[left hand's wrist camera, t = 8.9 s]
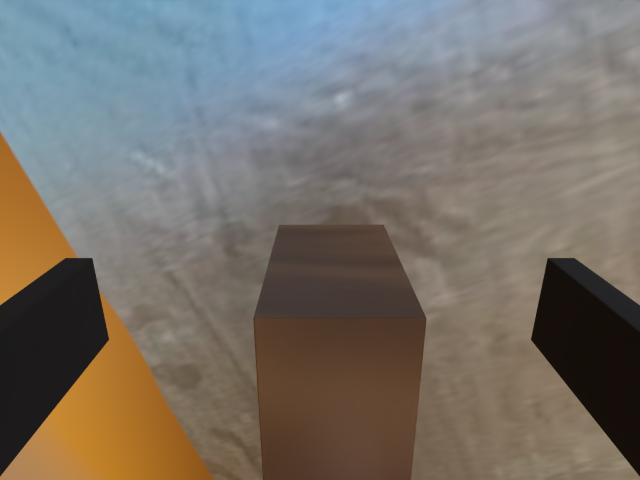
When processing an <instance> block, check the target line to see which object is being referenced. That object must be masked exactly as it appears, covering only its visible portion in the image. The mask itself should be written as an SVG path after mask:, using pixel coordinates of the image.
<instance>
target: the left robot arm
mask: <svg viewBox="0 0 640 480" xmlns="http://www.w3.org/2000/svg"><path fill="white" fill-rule="evenodd" d="M108 340H109V337H108V332H107V328H106V323H105V318H104V313H103V308H102V303H101V299H100V294H99V289H98V284H97V279H96V274H95V269H94V264H93V260H92V258H65V259H64V260H62V261H61V262H60V263H58V264H57V265H56V266H54V267H53V268H51V269H50V270H49V271H47V272H46V273H44V274H43V275H42V276H40V277H39V278H38V279H36V280H35V281H33V282H32V283H31V284H29V285H28V286H27V287H25V288H24V289H22V290H21V291H20V292H18V293H17V294H15V295H14V296H13V297H11V298H10V299H8V300H7V301H6V302H4V303H3V304H2V305H0V476H1V475H2V473H3V472H4V471H5V470H6V468H7V467H8V466H9V465H10V463H11V462H12V461H13V460H14V458H15V457H16V456H17V455H18V453H19V452H20V451H21V450H22V448H23V447H24V446H25V444H26V443H27V442H28V441H29V439H30V438H31V437H32V436H33V434H34V433H35V432H36V431H37V429H38V428H39V427H40V426H41V424H42V423H43V422H44V421H45V419H46V418H47V417H48V415H49V414H50V413H51V412H52V411H53V409H54V408H55V407H56V405H57V404H58V403H59V402H60V401H61V399H62V398H63V397H64V395H65V394H66V393H67V392H68V390H69V389H70V388H71V387H72V385H73V384H74V383H75V382H76V380H77V379H78V378H79V377H80V375H81V374H82V373H83V372H84V370H85V369H86V368H87V367H88V365H89V364H90V363H91V362H92V360H93V359H94V358H95V357H96V355H97V354H98V353H99V352H100V350H101V349H102V348H103V346H104V345H105V344H106V343H107V341H108ZM531 340H532V341H533V343H534V344H535V345H536V347H537V348H538V349H539V350H540V352H541V353H542V354H543V355H544V357H545V358H546V359H547V360H548V362H549V363H550V364H551V365H552V367H553V368H554V369H555V370H556V372H557V373H558V374H559V375H560V377H561V378H562V379H563V380H564V382H565V383H566V384H567V385H568V387H569V388H570V389H571V390H572V392H573V393H574V394H575V396H576V397H577V398H578V399H579V401H580V402H581V403H582V404H583V406H584V407H585V408H586V409H587V411H588V412H589V413H590V414H591V416H592V417H593V418H594V419H595V421H596V422H597V423H598V424H599V426H600V427H601V428H602V429H603V431H604V432H605V433H606V434H607V436H608V437H609V438H610V439H611V441H612V442H613V443H614V445H615V446H616V447H617V448H618V450H619V451H620V452H621V453H622V455H623V456H624V457H625V458H626V460H627V461H628V462H629V463H630V465H631V466H632V467H633V468H634V470H635V471H636V472H637V473H638V475H639V476H640V305H638V304H637V303H636V302H634V301H633V300H632V299H630V298H629V297H627V296H626V295H625V294H623V293H622V292H620V291H619V290H618V289H616V288H615V287H614V286H612V285H611V284H609V283H608V282H607V281H605V280H604V279H602V278H601V277H600V276H598V275H597V274H596V273H594V272H593V271H591V270H590V269H589V268H587V267H586V266H584V265H583V264H582V263H580V262H579V261H578V260H576V259H575V258H548V260H547V264H546V269H545V274H544V279H543V284H542V289H541V294H540V298H539V303H538V308H537V313H536V318H535V323H534V328H533V332H532V337H531Z"/></svg>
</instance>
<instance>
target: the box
mask: <svg viewBox="0 0 640 480" xmlns="http://www.w3.org/2000/svg"><path fill="white" fill-rule="evenodd" d="M425 328H426V317H425V314H424V312H423V310H422V308H421V306H420V303H419V301H418V299H417V297H416V295H415V293H414V290H413V288H412V286H411V284H410V282H409V279H408V277H407V275H406V273H405V271H404V268H403V266H402V264H401V262H400V260H399V258H398V255H397V253H396V251H395V249H394V247H393V244H392V242H391V240H390V238H389V236H388V234H387V231H386V229H385V227H384V225H279V228H278V231H277V235H276V239H275V242H274V246H273V250H272V253H271V257H270V261H269V264H268V268H267V271H266V275H265V279H264V282H263V286H262V290H261V293H260V297H259V301H258V304H257V308H256V312H255V315H254V335H255V352H256V368H257V385H258V401H259V418H260V435H261V451H262V468H263V480H411V472H412V462H413V452H414V441H415V431H416V421H417V410H418V400H419V390H420V379H421V369H422V359H423V349H424V338H425Z"/></svg>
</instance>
